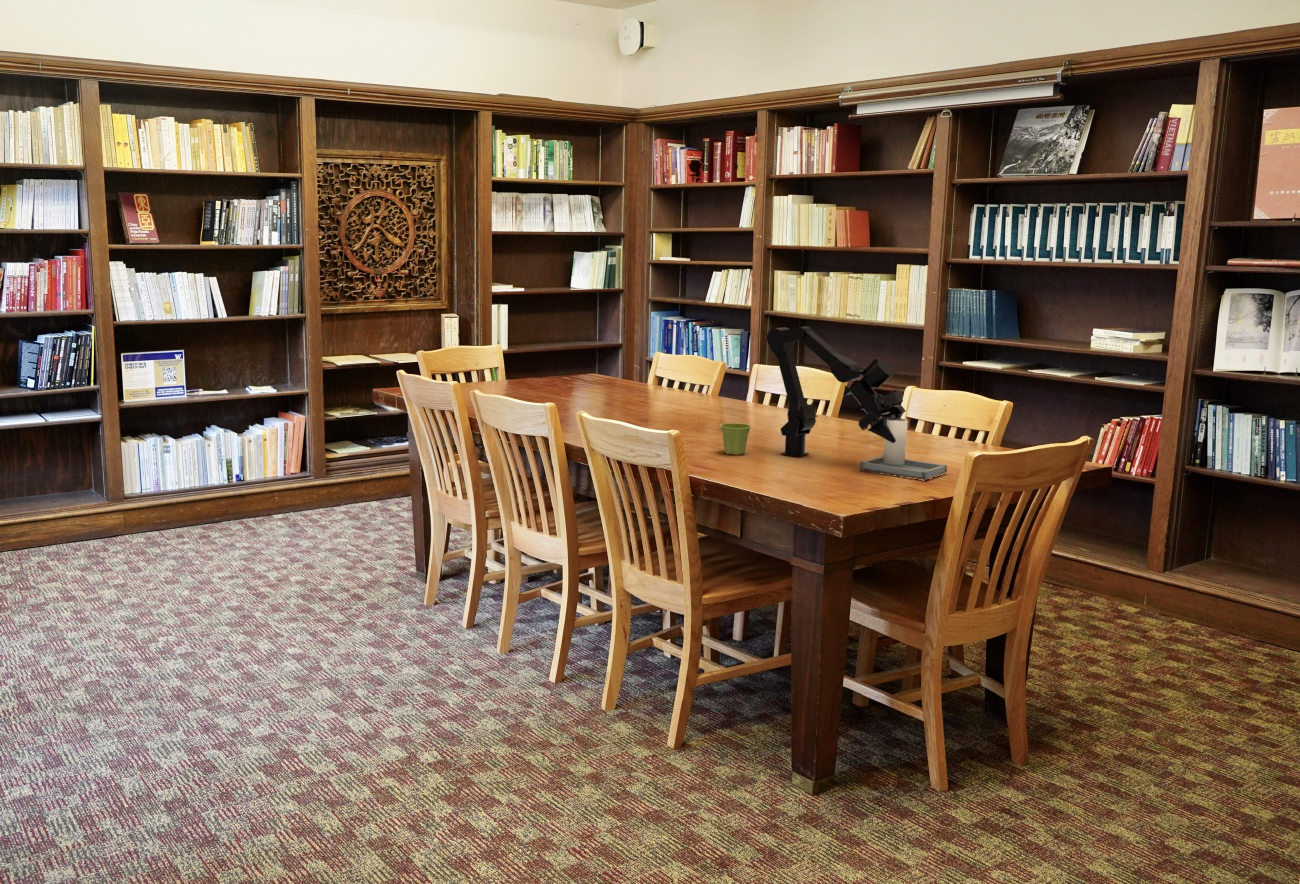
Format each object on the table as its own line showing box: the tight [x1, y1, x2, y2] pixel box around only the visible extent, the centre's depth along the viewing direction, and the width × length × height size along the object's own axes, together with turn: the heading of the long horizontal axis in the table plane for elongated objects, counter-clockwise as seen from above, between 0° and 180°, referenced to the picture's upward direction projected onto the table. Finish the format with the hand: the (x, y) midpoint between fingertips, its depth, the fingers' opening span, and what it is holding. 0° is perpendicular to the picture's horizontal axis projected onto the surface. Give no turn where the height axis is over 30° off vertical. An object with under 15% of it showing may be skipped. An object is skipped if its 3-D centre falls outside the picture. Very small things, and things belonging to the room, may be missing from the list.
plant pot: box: [719, 422, 752, 455], centre depth 339 cm, size 9×9×9 cm
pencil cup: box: [882, 417, 908, 465], centre depth 319 cm, size 6×6×12 cm
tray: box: [859, 455, 948, 480], centre depth 318 cm, size 14×20×2 cm
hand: (899, 440), depth 318 cm, fingers closed on pencil cup, 6 cm apart
